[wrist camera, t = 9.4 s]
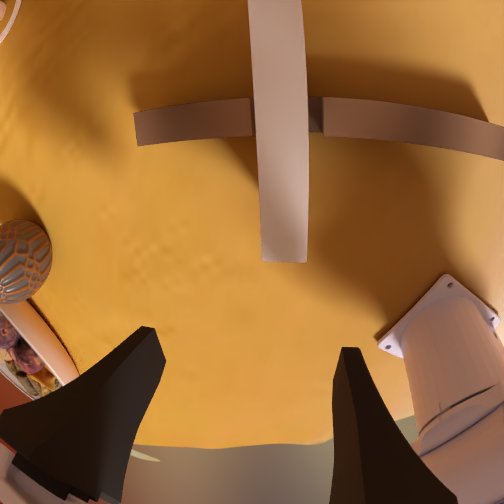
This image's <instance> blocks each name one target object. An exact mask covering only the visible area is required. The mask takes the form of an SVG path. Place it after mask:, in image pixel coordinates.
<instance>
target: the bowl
mask: <svg viewBox="0 0 504 504" xmlns="http://www.w3.org/2000/svg"><path fill="white" fill-rule="evenodd" d="M0 372H1V373H2V374H3V375H4V376H5V377H6V378H7V379H8V380H10V381H11V382H12V383H13V384H14V385H15V386H16V387H17V388H19V389H20V390H21V391H22V392H24V393H25V394H26V395H27V396H29V397H30V398H31V399H33V400H36V399H38V398H40V397H43V396H45V395H47V394H49V393H51V392H53V391H55V390H57V389H59V388H61V387H62V386H64V385H66V384H67V383H69V382H71V381H72V380H74V379H76V378H77V377H79V374H78V371H77V369H76V367H75V365H74V363H73V362H72V360H71V358H70V356H69V355H68V353H67V352H66V350H65V348H64V347H63V346H62V344H61V343H60V341H59V340H58V338H57V337H56V336H55V334H54V333H53V332H52V330H51V329H50V328H49V326H48V325H47V324H46V323H45V321H44V320H43V319H42V318H41V316H40V315H39V314H38V313H37V312H36V311H35V309H34V308H33V307H32V306H31V305H30V304H29V302H28V301H27V300H24V301H22V302H20V303H16V304H0Z"/></svg>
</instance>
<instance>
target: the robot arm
mask: <svg viewBox="0 0 504 504" xmlns="http://www.w3.org/2000/svg"><path fill="white" fill-rule="evenodd" d="M449 283H451V284H450V285H448V284H449ZM500 322H501V319H500V317H499V316H498V315H497V314H496V313H495V312H494V311H492V310H491V309H490V308H489V307H488V306H487V305H486V304H484V303H483V302H482V301H481V300H480V299H479V298H477V297H476V296H475V295H474V294H473V293H471V292H470V291H469V290H468V289H467V288H465V287H464V286H463V285H462V284H460V283H459V282H458V281H457V280H456V279H454V278H453V277H452V276H450V275H449V274H444V275H442V276H441V277H440V278H439V280H438V281H437V282H436V283H435V284H434V285H433V286H432V287H431V288H430V290H429V291H428V292H427V293H426V294H425V295H424V296H423V297H422V298H421V299H420V300H419V301H418V302H417V303H416V304H415V305H414V307H413V308H412V309H411V310H410V311H409V312H408V313H407V314H406V315H405V316H404V317H403V318H402V319H401V320H400V321H399V322H398V323H397V324H395V325H394V326H393V327H392V328H391V329H390V330H389V331H388V332H387V333H386V334H385V335H384V336H383V337H382V338H381V339H380V340H379V341H378V343H377V344H378V347H379V348H380V349H382V350H384V351H386V352H389V353H391V354H393V355H395V356H397V357H400V358H402V359H404V363H405V367H406V372H407V376H408V381H409V386H410V391H411V396H412V401H413V407H414V412H415V418H416V424H417V431H418V437H419V438H418V439H417V440H416V441H414V442H413V443H411V444H409V443H408V441H407V440H406V439H405V437H404V436H403V434H402V433H401V431H400V430H399V428H398V426H397V425H396V423H395V421H394V420H393V418H392V416H391V415H390V413H389V411H388V409H387V407H386V406H385V404H384V402H383V400H382V398H381V396H380V394H379V392H378V390H377V388H376V386H375V384H374V382H373V379H372V377H371V375H370V373H369V370H368V368H367V366H366V363H365V361H364V358H363V356H362V353H361V350H360V349H359V348H358V347H342V348H341V352H340V356H339V360H338V364H337V368H336V371H335V375H334V378H333V393H332V413H333V433H334V468H333V479H332V487H331V495H330V502H329V504H504V347H503V345H502V343H501V341H500V339H499V337H498V335H497V333H496V331H495V328H496V327H497V326H498V325H499V324H500ZM387 345H388V346H387ZM165 363H166V359H165V356H164V354H163V351H162V348H161V345H160V342H159V340H158V337H157V334H156V331H155V328H150V327H145V326H141V327H140V328H139V329H137V330H136V331H135V332H134V333H133V334H131V335H130V336H129V337H128V338H127V339H126V340H124V341H123V342H122V343H121V344H120V345H119V346H117V347H116V348H115V349H114V350H113V351H111V352H110V353H109V354H108V355H106V356H105V357H104V358H103V359H102V360H100V361H99V362H98V363H96V364H95V365H94V366H92V367H91V368H90V369H88V370H87V371H86V372H84V373H83V374H81V375H80V376H79V377H77V378H76V379H74V380H72V381H71V382H69V383H67V384H66V385H64V386H62V387H61V388H59V389H57V390H55V391H53V392H51V393H49V394H47V395H45V396H43V397H40V398H38V399H36V400H33V401H31V402H28V403H25V404H22V405H19V406H16V407H13V408H9V409H5V410H3V412H2V414H1V415H0V438H1V439H3V440H4V441H5V442H6V443H7V444H8V445H9V446H11V447H12V448H13V449H14V450H16V451H17V453H16V455H15V454H13V453H12V452H11V451H10V450H9V449H7V448H6V447H5V446H4V445H3V444H1V443H0V500H1V502H2V503H3V504H88V501H89V499H91V500H93V501H95V502H97V501H98V499H99V498H100V499H103V500H105V501H107V502H109V503H111V504H119V503H121V498H122V490H123V483H124V478H125V473H126V469H127V464H128V460H129V456H130V453H131V449H132V446H133V442H134V439H135V436H136V433H137V430H138V428H139V425H140V423H141V421H142V419H143V416H144V414H145V412H146V410H147V408H148V406H149V404H150V402H151V399H152V397H153V395H154V393H155V391H156V389H157V387H158V384H159V382H160V379H161V376H162V373H163V370H164V367H165Z"/></svg>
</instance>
